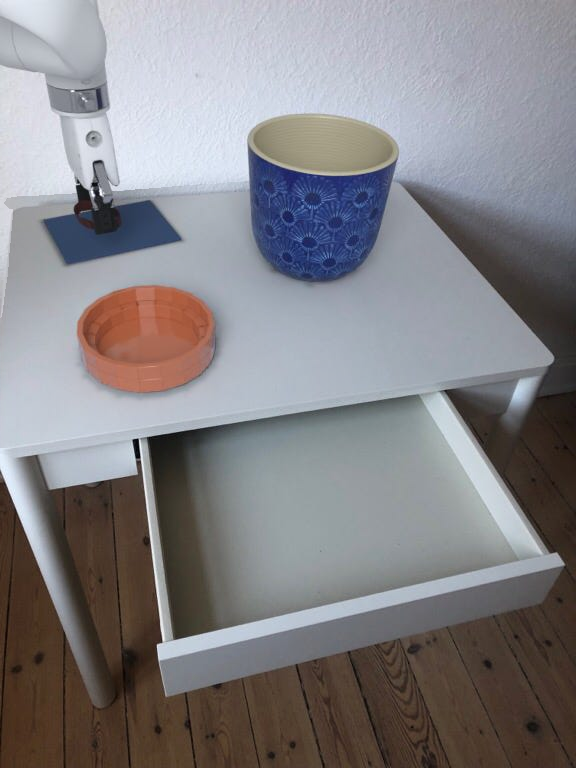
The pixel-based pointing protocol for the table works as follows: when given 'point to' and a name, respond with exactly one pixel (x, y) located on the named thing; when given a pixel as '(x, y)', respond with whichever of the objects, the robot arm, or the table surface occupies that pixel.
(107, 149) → the robot arm
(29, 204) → the table surface
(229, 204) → the table surface
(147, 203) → the mat
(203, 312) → the bowl
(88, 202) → the watch
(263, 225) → the planter
